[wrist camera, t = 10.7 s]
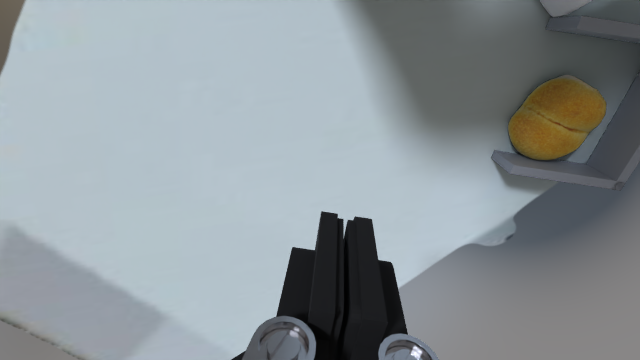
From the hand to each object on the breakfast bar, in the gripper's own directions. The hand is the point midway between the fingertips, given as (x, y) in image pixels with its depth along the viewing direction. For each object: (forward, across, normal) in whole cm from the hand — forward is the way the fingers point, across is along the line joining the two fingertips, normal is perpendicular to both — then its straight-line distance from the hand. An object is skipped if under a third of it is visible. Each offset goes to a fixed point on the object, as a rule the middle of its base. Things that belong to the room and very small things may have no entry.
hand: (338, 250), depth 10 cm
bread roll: (+28, -23, -1) cm, 36 cm away
